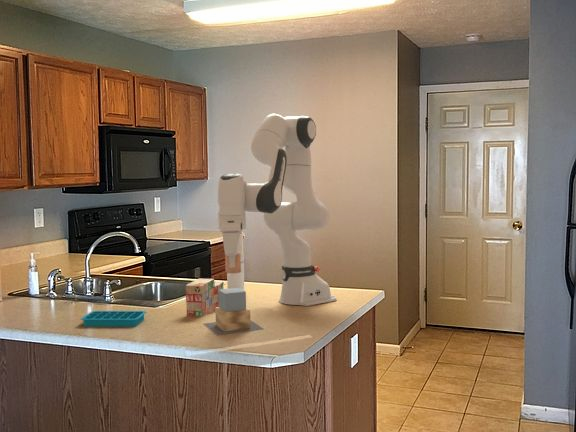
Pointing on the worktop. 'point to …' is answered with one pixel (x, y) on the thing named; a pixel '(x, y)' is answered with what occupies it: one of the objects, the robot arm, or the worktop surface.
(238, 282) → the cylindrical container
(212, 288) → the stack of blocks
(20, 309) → the worktop surface
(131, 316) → the ice cube tray
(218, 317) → the oak block
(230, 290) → the slate-blue block
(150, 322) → the worktop surface
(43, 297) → the worktop surface
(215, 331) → the charcoal rubber mat
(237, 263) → the terracotta cylinder
